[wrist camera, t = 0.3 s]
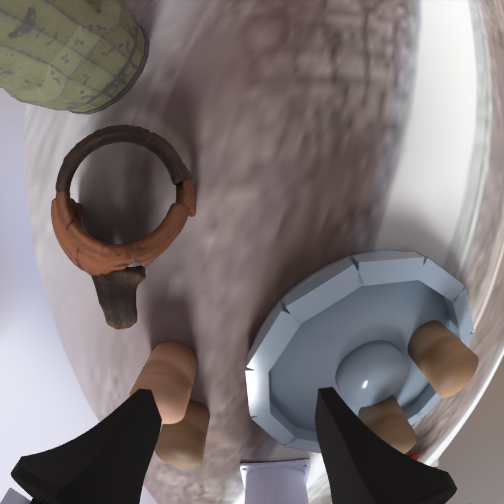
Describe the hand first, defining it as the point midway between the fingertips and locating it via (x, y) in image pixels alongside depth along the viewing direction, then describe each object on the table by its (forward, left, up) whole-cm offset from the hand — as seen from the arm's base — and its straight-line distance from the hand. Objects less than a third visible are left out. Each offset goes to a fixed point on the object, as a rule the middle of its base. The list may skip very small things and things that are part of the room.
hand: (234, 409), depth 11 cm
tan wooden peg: (-11, +6, -10) cm, 16 cm away
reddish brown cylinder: (-5, +6, -10) cm, 12 cm away
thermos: (+20, +10, -10) cm, 24 cm away
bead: (-4, -15, -9) cm, 18 cm away
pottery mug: (+7, +7, -10) cm, 14 cm away
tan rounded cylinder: (-11, -12, -9) cm, 19 cm away
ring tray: (-6, -10, -10) cm, 15 cm away
